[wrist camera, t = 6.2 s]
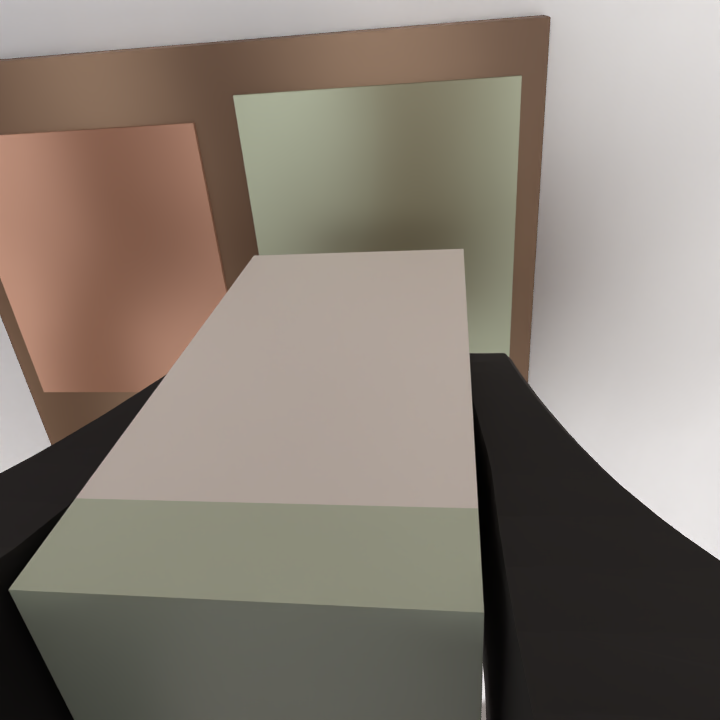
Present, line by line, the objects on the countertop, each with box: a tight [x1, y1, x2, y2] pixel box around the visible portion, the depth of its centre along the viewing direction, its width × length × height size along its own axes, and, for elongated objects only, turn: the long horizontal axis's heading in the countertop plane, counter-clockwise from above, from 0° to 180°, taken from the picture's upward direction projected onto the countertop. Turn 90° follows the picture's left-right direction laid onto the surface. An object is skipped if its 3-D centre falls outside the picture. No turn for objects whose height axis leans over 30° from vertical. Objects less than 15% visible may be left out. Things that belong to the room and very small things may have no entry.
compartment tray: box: [0, 15, 550, 445], centre depth 17 cm, size 14×17×3 cm
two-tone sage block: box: [9, 249, 484, 720], centre depth 8 cm, size 4×4×7 cm
